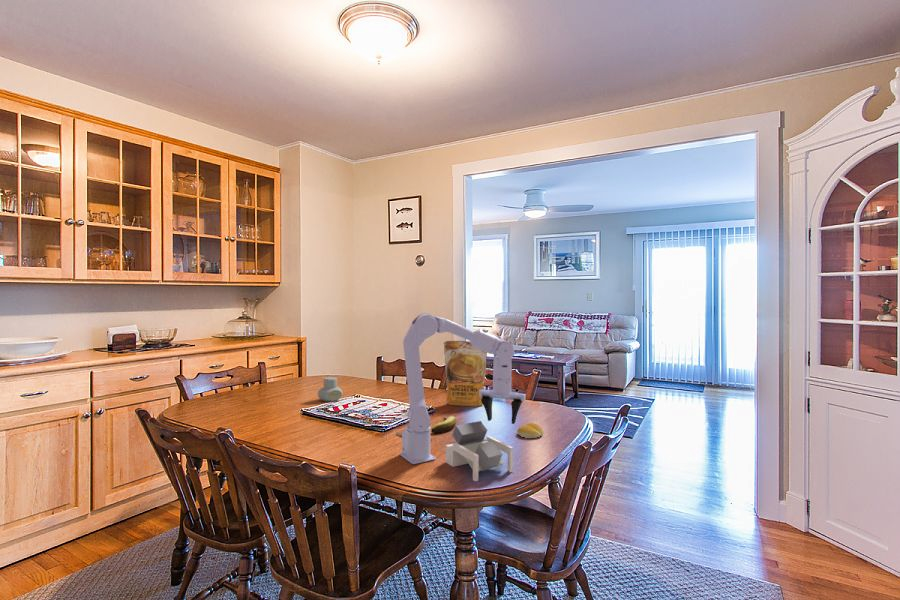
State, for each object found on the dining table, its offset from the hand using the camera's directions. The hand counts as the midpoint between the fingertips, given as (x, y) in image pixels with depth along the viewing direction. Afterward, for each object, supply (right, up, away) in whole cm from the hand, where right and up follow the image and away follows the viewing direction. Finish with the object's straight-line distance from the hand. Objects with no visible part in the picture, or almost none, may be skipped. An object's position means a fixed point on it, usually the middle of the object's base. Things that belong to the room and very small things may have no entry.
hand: (501, 421), depth 146 cm
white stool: (-8, -11, -10) cm, 16 cm away
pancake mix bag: (-10, -8, +60) cm, 62 cm away
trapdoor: (-8, -6, -9) cm, 14 cm away
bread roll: (+12, -10, +20) cm, 25 cm away
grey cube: (-6, -8, -14) cm, 17 cm away
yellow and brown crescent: (-18, -10, +27) cm, 34 cm away
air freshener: (-70, -8, +65) cm, 96 cm away
